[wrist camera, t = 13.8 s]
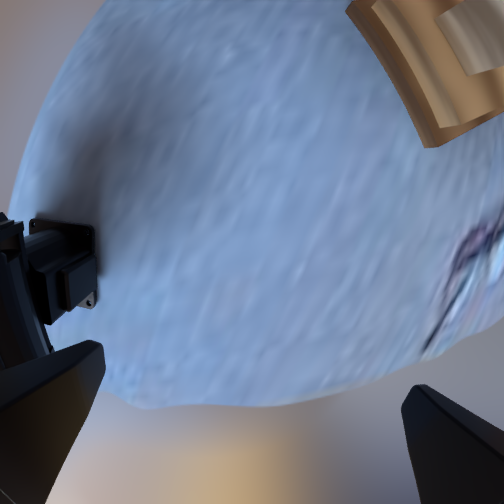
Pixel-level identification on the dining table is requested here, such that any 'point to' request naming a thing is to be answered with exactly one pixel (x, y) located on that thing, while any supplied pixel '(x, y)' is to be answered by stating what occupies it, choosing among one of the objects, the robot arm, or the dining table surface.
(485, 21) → the ash block
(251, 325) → the dining table surface
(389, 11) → the maple block
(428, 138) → the wooden base plate
